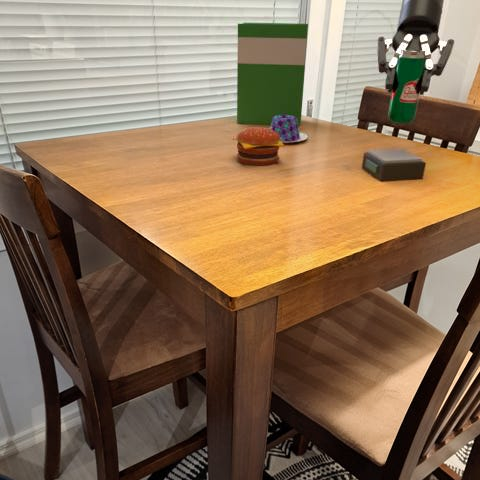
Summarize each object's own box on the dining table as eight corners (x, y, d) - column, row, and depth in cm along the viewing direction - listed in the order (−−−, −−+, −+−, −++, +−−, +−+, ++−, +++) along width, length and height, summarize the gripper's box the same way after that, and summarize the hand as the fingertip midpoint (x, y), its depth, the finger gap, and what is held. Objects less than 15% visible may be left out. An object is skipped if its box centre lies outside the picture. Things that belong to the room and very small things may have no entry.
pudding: (270, 131, 131) (271, 110, 128) (314, 136, 126) (315, 114, 123) (252, 141, 121) (252, 118, 119) (298, 147, 117) (299, 124, 114)
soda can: (398, 124, 92) (411, 52, 86) (381, 119, 96) (392, 49, 90) (419, 122, 94) (434, 51, 88) (402, 117, 98) (415, 48, 91)
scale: (401, 166, 105) (404, 147, 103) (422, 179, 98) (426, 159, 96) (360, 168, 103) (362, 149, 101) (379, 181, 96) (382, 161, 94)
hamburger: (245, 167, 103) (245, 134, 99) (230, 156, 110) (230, 124, 107) (286, 163, 105) (288, 131, 102) (269, 152, 113) (271, 122, 109)
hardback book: (300, 120, 143) (308, 23, 130) (300, 125, 137) (307, 24, 124) (240, 117, 145) (241, 22, 132) (237, 123, 139) (237, 23, 126)
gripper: (383, -6, 92) (367, 74, 89) (465, -4, 88) (451, 79, 85) (380, 26, 99) (365, 101, 96) (456, 28, 95) (443, 106, 92)
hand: (406, 90), depth 91 cm, fingers closed on soda can, 5 cm apart
